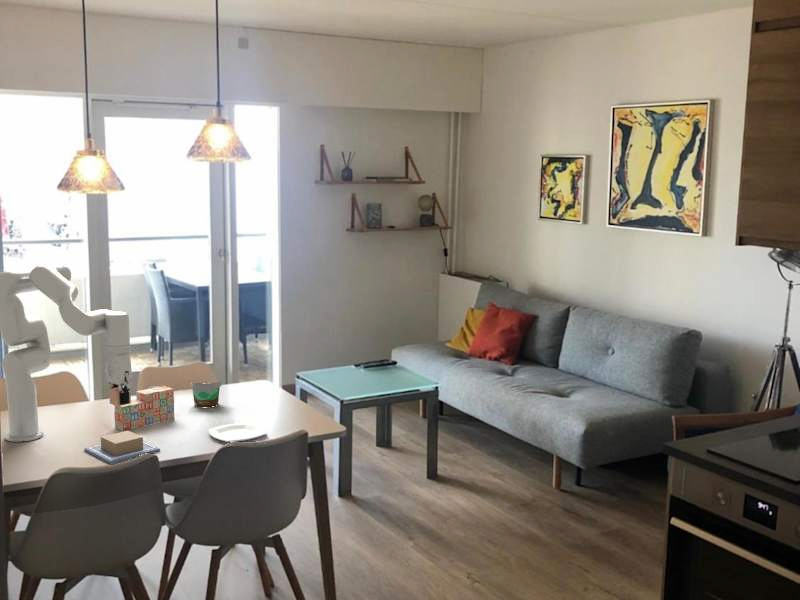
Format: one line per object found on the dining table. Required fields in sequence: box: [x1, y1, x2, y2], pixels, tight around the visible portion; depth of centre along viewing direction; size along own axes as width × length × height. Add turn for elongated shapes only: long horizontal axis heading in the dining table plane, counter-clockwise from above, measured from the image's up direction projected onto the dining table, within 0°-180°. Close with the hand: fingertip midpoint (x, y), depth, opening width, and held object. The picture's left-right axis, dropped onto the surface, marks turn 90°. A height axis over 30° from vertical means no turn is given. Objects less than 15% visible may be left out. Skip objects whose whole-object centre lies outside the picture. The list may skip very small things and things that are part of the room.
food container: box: [189, 380, 222, 408], centre depth 340 cm, size 12×6×10 cm, turn 104°
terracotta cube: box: [108, 386, 132, 407], centre depth 284 cm, size 5×5×5 cm
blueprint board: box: [83, 430, 161, 465], centre depth 286 cm, size 18×18×5 cm
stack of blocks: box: [113, 385, 175, 432], centre depth 317 cm, size 21×6×12 cm, turn 136°
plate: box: [208, 422, 268, 443], centre depth 305 cm, size 19×19×2 cm
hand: (120, 401), depth 284 cm, fingers closed on terracotta cube, 5 cm apart
